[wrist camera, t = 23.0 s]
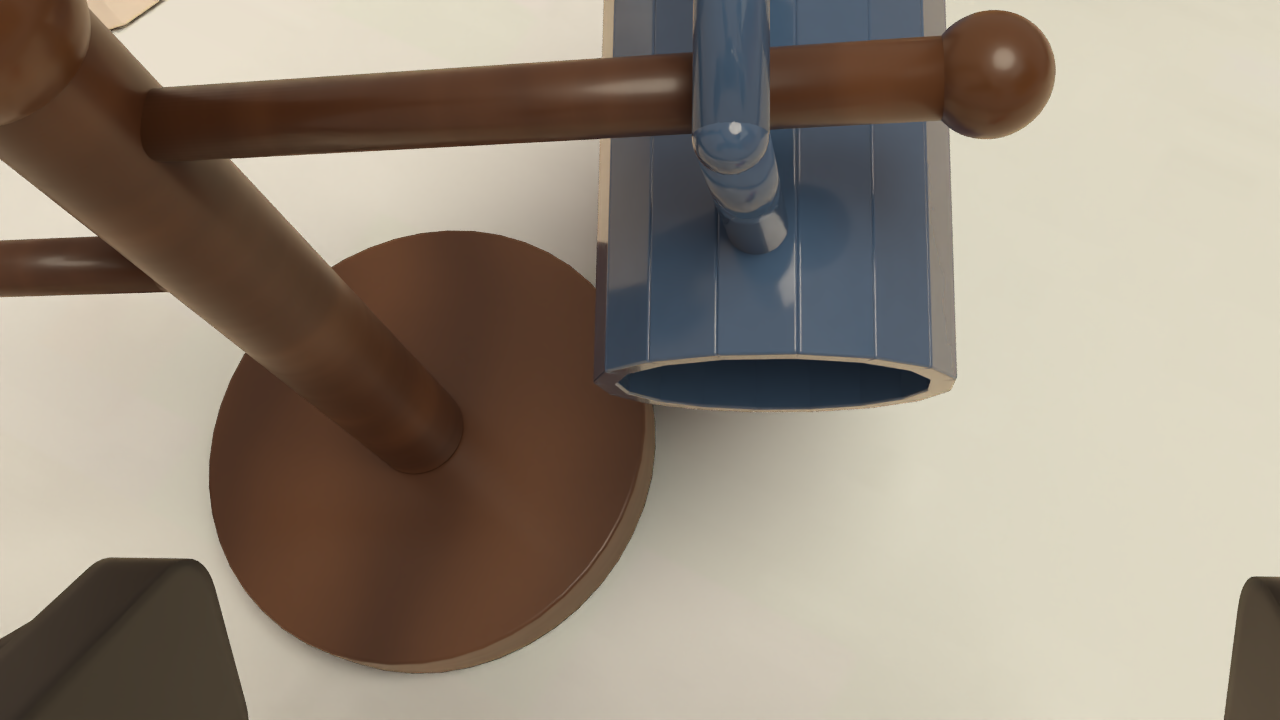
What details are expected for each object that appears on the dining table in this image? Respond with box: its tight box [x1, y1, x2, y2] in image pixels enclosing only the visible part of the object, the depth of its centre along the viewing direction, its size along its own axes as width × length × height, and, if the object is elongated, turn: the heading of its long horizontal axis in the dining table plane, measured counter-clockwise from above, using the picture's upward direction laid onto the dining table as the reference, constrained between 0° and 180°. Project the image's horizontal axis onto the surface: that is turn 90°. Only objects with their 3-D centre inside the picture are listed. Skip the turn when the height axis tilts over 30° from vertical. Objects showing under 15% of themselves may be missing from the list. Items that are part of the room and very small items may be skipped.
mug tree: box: [0, 0, 1056, 673], centre depth 21 cm, size 22×11×18 cm, turn 87°
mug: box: [593, 0, 957, 412], centre depth 18 cm, size 10×6×10 cm
